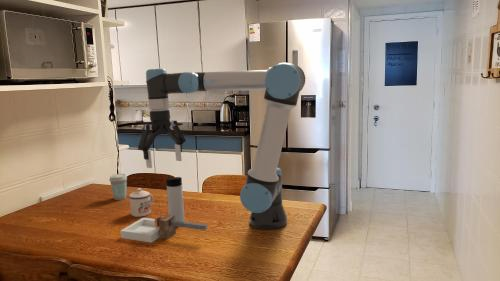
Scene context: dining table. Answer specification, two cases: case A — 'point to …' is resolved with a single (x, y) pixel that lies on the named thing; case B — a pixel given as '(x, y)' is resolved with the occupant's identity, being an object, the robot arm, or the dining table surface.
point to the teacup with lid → (140, 203)
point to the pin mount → (166, 227)
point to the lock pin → (182, 224)
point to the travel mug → (175, 198)
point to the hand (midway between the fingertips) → (164, 164)
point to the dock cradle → (142, 231)
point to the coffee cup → (118, 186)
